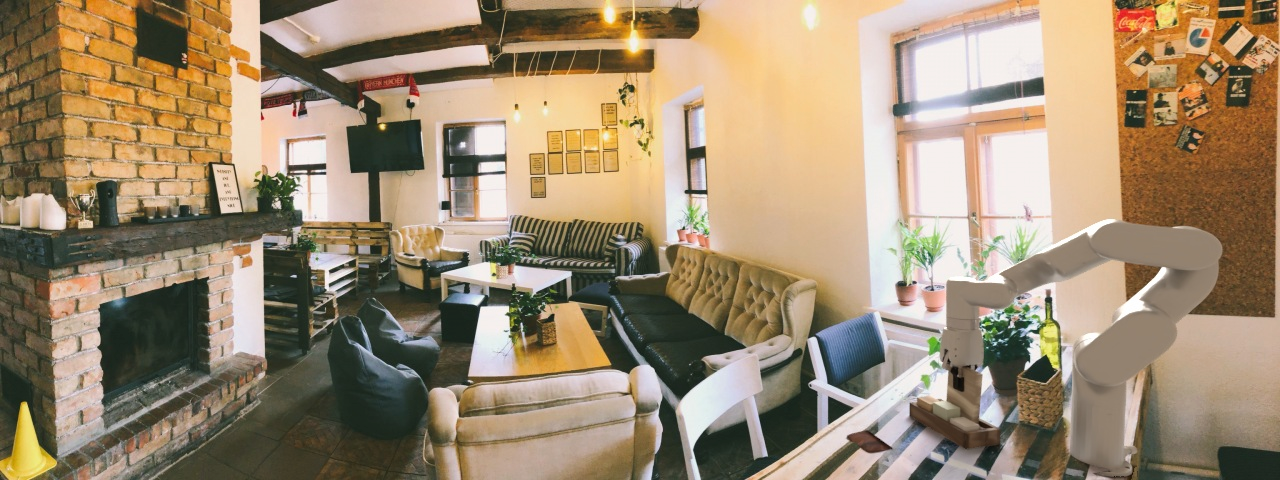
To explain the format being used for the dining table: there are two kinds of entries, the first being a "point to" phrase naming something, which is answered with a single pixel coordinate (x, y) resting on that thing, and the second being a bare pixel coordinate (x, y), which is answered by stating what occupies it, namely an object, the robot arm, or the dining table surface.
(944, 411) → the block
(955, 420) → the offcut
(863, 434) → the wooden tablet
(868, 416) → the dining table surface
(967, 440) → the brown wooden tray
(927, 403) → the offcut
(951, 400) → the light wooden board
